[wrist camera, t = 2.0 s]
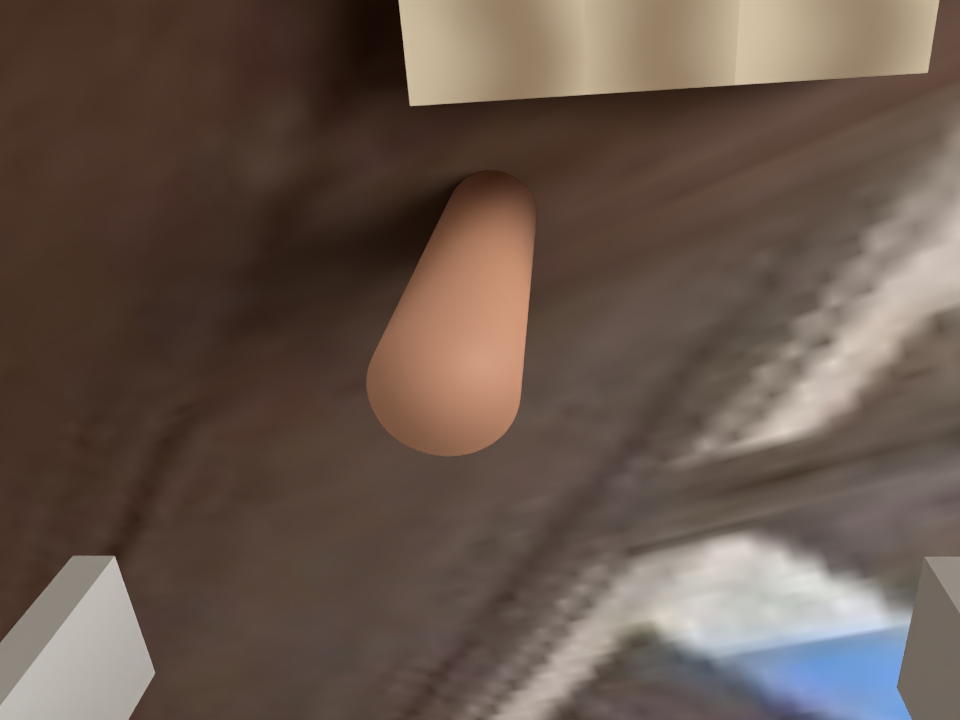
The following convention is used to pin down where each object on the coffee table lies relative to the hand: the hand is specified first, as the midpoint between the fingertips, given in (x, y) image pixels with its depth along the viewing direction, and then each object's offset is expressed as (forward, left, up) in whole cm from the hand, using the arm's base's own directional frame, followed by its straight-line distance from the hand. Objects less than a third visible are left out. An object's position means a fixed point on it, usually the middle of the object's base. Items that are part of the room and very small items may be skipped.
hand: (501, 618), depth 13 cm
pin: (-2, +1, -21) cm, 21 cm away
